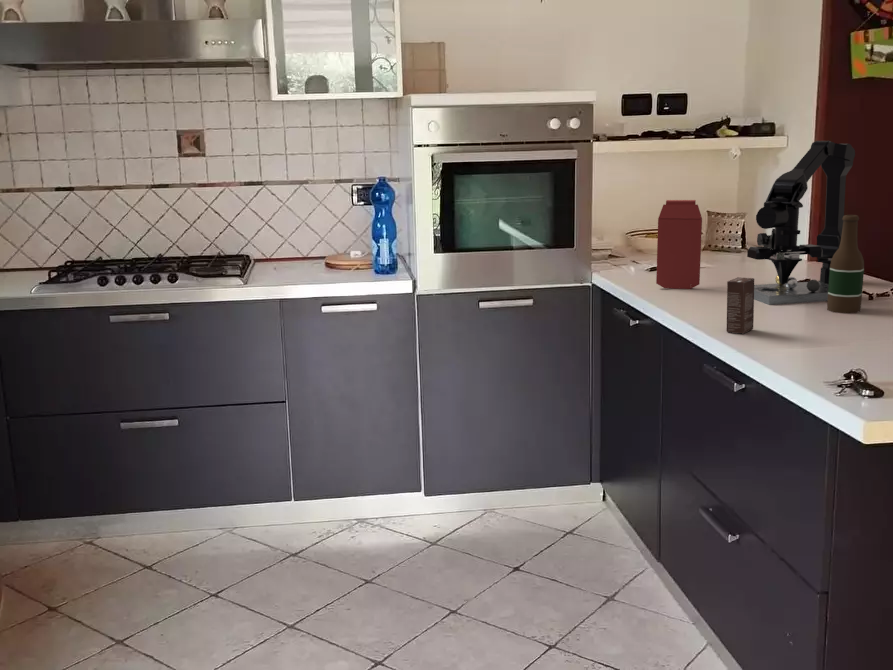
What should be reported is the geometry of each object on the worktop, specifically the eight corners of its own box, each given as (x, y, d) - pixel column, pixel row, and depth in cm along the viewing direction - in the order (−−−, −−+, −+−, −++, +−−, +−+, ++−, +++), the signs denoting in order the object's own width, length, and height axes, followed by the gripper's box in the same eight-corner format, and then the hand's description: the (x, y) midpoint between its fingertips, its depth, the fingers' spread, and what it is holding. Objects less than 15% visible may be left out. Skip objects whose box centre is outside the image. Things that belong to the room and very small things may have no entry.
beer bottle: (845, 316, 220) (853, 217, 214) (819, 310, 227) (826, 215, 221) (867, 312, 223) (875, 215, 218) (841, 307, 230) (848, 212, 224)
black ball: (815, 290, 240) (816, 278, 239) (821, 292, 237) (822, 280, 236) (804, 290, 240) (804, 278, 239) (810, 293, 237) (811, 280, 236)
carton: (699, 286, 264) (702, 200, 258) (699, 289, 259) (702, 201, 254) (656, 285, 267) (659, 200, 261) (656, 288, 262) (658, 201, 257)
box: (734, 327, 211) (737, 276, 209) (753, 329, 208) (756, 278, 206) (724, 332, 207) (726, 280, 204) (743, 334, 204) (746, 282, 201)
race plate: (817, 290, 253) (818, 281, 253) (850, 300, 238) (851, 291, 237) (740, 294, 250) (741, 285, 249) (769, 305, 235) (769, 295, 234)
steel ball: (781, 279, 244) (783, 290, 244) (789, 277, 241) (792, 289, 241) (789, 276, 245) (792, 287, 245) (798, 275, 242) (801, 286, 242)
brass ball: (783, 283, 250) (784, 272, 250) (789, 285, 247) (790, 274, 246) (772, 284, 250) (773, 273, 249) (778, 286, 247) (779, 274, 246)
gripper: (803, 221, 248) (799, 277, 251) (739, 223, 245) (736, 280, 249) (825, 225, 237) (821, 284, 241) (759, 228, 235) (755, 287, 238)
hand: (782, 283), depth 242 cm, fingers closed
